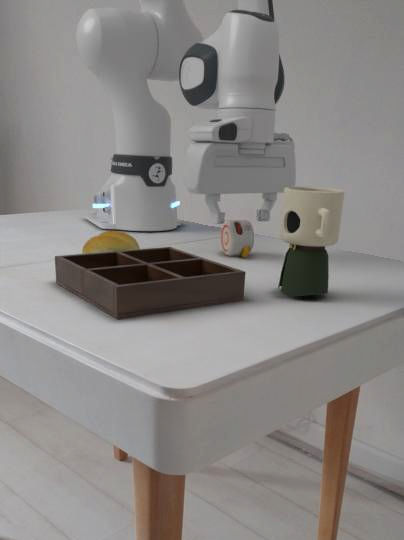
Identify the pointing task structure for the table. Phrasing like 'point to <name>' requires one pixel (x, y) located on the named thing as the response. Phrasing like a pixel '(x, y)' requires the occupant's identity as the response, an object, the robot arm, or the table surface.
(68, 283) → the grid
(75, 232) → the table surface
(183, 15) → the robot arm
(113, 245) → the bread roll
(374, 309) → the table surface
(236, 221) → the roller toy
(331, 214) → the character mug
